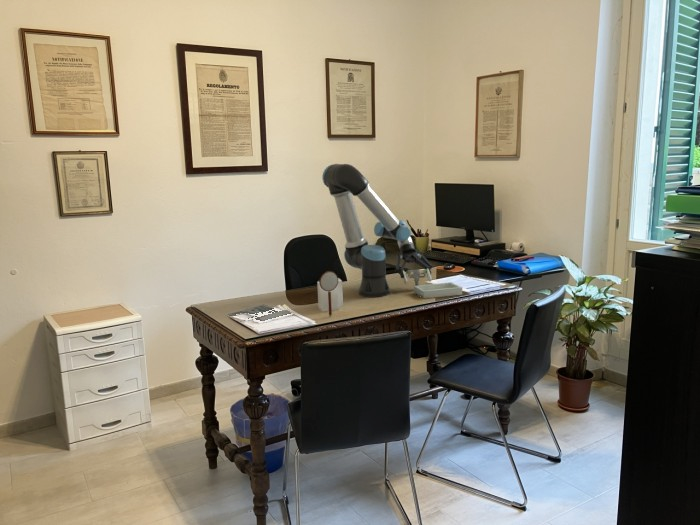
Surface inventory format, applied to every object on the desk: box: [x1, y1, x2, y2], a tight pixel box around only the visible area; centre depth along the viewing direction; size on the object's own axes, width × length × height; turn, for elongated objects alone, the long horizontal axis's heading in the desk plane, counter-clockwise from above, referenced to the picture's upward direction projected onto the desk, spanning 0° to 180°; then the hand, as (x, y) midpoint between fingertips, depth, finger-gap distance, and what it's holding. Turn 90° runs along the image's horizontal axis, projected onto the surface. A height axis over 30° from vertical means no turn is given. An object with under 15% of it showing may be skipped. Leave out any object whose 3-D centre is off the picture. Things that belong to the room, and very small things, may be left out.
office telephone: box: [227, 303, 292, 321], centre depth 244 cm, size 23×3×20 cm
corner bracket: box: [316, 277, 344, 313], centre depth 252 cm, size 11×11×12 cm
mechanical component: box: [405, 269, 427, 286], centre depth 279 cm, size 3×10×10 cm, turn 89°
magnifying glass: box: [318, 270, 339, 318], centre depth 236 cm, size 9×2×20 cm, turn 116°
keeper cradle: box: [413, 281, 463, 299], centre depth 270 cm, size 20×12×4 cm, turn 106°
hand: (418, 281), depth 277 cm, fingers open, 12 cm apart
